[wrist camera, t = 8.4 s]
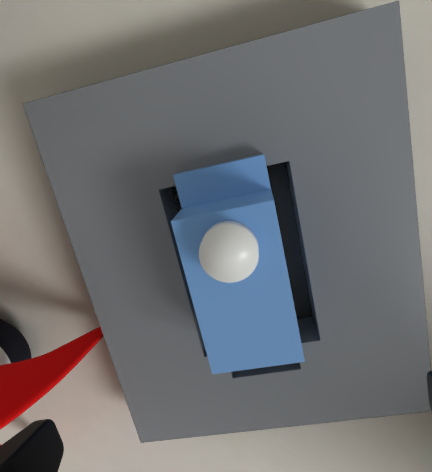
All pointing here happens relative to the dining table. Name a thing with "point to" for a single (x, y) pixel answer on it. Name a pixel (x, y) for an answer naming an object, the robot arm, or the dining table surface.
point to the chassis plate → (306, 213)
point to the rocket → (34, 369)
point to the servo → (236, 266)
